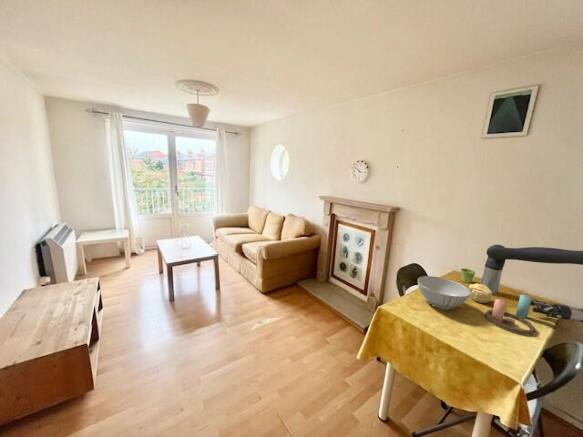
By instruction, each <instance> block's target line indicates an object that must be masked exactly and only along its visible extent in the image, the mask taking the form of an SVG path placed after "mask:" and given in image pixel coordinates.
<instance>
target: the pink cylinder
mask: <svg viewBox="0 0 583 437" xmlns="http://www.w3.org/2000/svg"><path fill="white" fill-rule="evenodd" d="M507 303H508V302H507V301H505V300H503V299H500V298H495V299H494V303H493V309H492V310H493V312H492V314H491V316H490V317H491V318H492V319H494V320H496V321H497V322H499V323H501V324H503V322H502V321H503V319H504V318H505V316H504V313H505V312H506V308H507Z"/></svg>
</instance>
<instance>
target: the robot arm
mask: <svg viewBox="0 0 583 437" xmlns="http://www.w3.org/2000/svg"><path fill="white" fill-rule="evenodd" d="M486 255H487V257H486V258H487V259H486V260H485V261H486V262H485V264H484V267H483V273H482V276H481V278H480V282H479V284H482V285H484V286H487V287H488V288H489V289H490V290H491V291H492V295H498V293H499V289H500V288H499V287H500V282H501V278H502V274H503V270H504V266H505V264H506V260H511V261H513V260H514V261H515V260H516V261H523V262H530V263H531V262H532V263H541V264H555V265H556V264H558V265H559V264H560V265H561V264H562V265H563V264H565V265H566V264H567V265H570V264H571V265H581V266H583V250H571V249H562V248H555V247H545V246H544V247H543V246H542V247H541V246H528V247H513V248H512V247H505V246H504V245H502V244H493V245H491V246H489V247H487V249H486ZM530 306H533V307H532V312H533V313H537V314H542V315H543V316H545V317H547V318H555V319H559V320H565V321H570V322H577V323H578V322H579V323H583V308H580V307H576V306H572V305H571V306H570V305H566V304H560V303H554V304H552V305H550V304H547V302H545V301H540V300H536V299H532V300H531V304H530Z"/></svg>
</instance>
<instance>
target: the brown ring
mask: <svg viewBox="0 0 583 437" xmlns="http://www.w3.org/2000/svg"><path fill="white" fill-rule="evenodd" d="M492 312H493V309H487V310H486V311H485V314H484V317H485V318H486V320H487V321H488V322H489V323H491V324H492V325H494V326H495V327H497V328H500V329H501V330H504V331H507V332H509V333H513V334H518V335H521V336H532V335H533V334H534V332H535V329H536V327H535V326H534V325H533V323H531V322H530V321H528V320H527V319H524V318H521V317H519V316H516V314H514V313H511V312H508V311H505V313H504V317H503V321H502V324H501V323H499V322H497V321H496V320H494V319H492V318H491V317H492V316H490V315H492ZM516 321H519V322H520V323H522V324H524V325H525V326H527V327H528V329H519V328H515V327H514V325H515V324H516V323H515V322H516ZM503 323H504V324H503Z"/></svg>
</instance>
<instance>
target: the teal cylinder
mask: <svg viewBox="0 0 583 437" xmlns="http://www.w3.org/2000/svg"><path fill="white" fill-rule="evenodd" d="M532 300H533V299H532V297H531V296H529V295H526V294H520V295H519V299H518V304H517V307H516V312H515V315H516V316H519V317H521V318H523V319H525V320H527V319H528V315H529V311H530V307H531V305H530V304H531V301H532Z"/></svg>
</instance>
